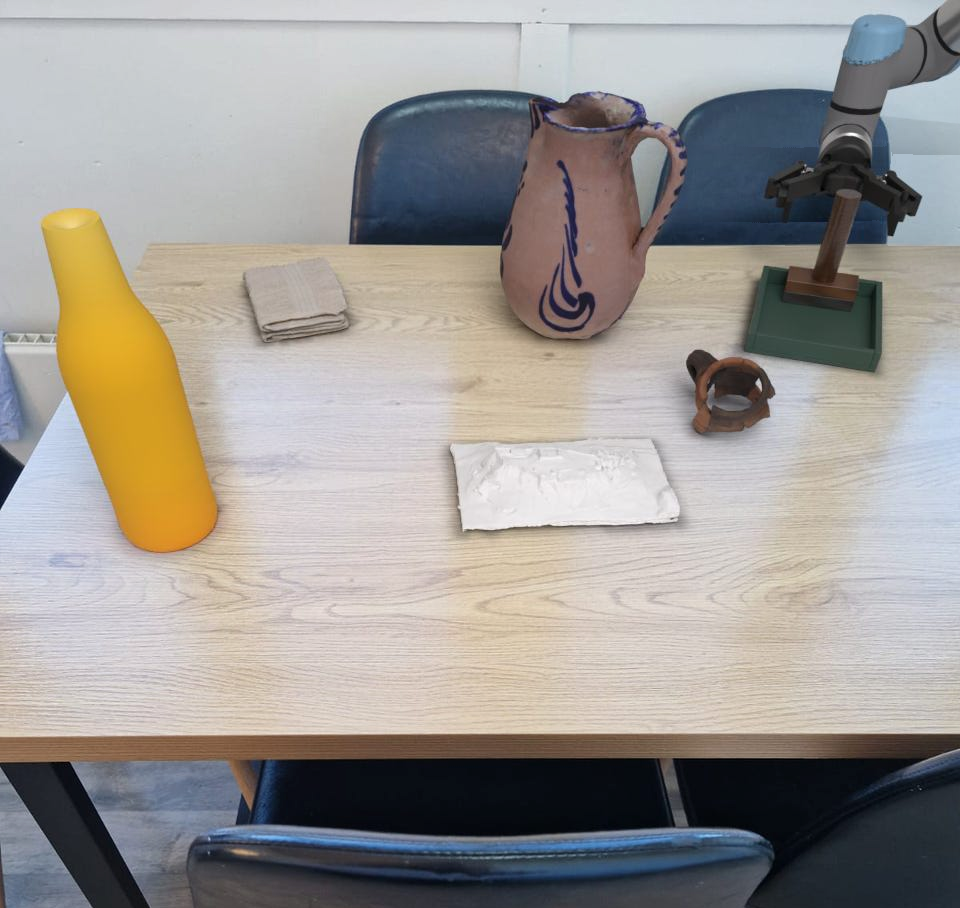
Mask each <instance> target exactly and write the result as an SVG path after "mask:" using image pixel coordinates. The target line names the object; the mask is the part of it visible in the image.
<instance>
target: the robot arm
mask: <svg viewBox="0 0 960 908" xmlns="http://www.w3.org/2000/svg"><path fill="white" fill-rule="evenodd" d="M959 68H960V0H946V1H944V2H943V3H942V4H941V5H940V6H939V7H938V8H936V9H935V10H934V11H933V12H932V13H931V14H929V15H928V16H927V17H926V18H925V19H924V20H922V21H921V22H920V23H917V24H916V25H915V24H914V25H912V26H907V22H906V20H905V19H903V18H901V17H898V16H895V15H890V14H881V13H877V14H864V15H861V16H859V17H858V18H856V19H855V21H854V22H853V24H852V26H851V28H850V31H849V35H848V37H847V41H846V44H845V45H844V47H843V50H842V57H841V61H840V64H839V69H838V72H837V75H836V80H835V84H834V88H833V92H832V97H831V100H830V103H829V105H828V109H827V113H826V117H825V121H824V122H823V124H822V126H821V129H820V130H821V131H820V134H819V137H818V143H819V149H818V156H817V162H816V165H815V166H814V167H808V164H806V161H805V160H803V159H798V160H796V161H795V163H794V165H791V166H789V167H788V168H786V169H783V170H781V171H779V172H778V173H775V174H774V175H772V176H770V177H768V178H767V183H766V188H765V191H764V196H763V198H764V199H766V200H771V199H772V200H773V199H774V198H776V202H775V207H776V208H778V209H783V211H782V215H781V216H782V217H781V222H780V223H782V224H787V223H788V221H789V217H790V213H791V209H792V205H793V200H797V199H800V198H803V197H804V198H805V197H807V196H810V195H813V196H815V197H818V196H823V195H825V196H827V197H829V198H832V199H835V195H836V192H837V191H838V190H841V189H851V190H855V191H858V192H859V193H861V195H862V196H861V199H860V202H869V203H871V204H872V205H873V206H876V207H878V208H880V209H881V210H883V211H885V212H886V213H887V215H886V236H887V237H894V235H895V232H896V230H897V227H898V224H899V223H903V222H904V221H905V219H906V216H908V217H910V218H911V217H916V215H917V213H918V210H919V208H920V205H921V203H922V199H923V195H922V194H921V193H919V192H918V191H917V190H915V189H914V188H913V187H911V186H910V185H909V184H908V183H906V182H905V181H904V180H903V179H901V178H900V177H898V175H897V172H896V171H895V170H892V169H891V170H886V173H883V175H877V174H876V173H875V171H874V170H872V169H873V140H874V135H875V132H876V129H877V126H878V122H879V120H880V116H881V113H882V110H883V107H884V103H885V100H886V97H887V95H888V92H889V91H891V90H895V89H900V88H903V87H908V86H913V85H918V84H921V83H930V82H935V81H938V80H939V79H941V78H944V77H946V76H949V75H951V74H952V73H954V72H955V71H956V70H958V69H959Z"/></svg>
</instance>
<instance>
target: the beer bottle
mask: <svg viewBox="0 0 960 908" xmlns="http://www.w3.org/2000/svg"><path fill="white" fill-rule="evenodd" d="M40 227H41V230H42V235H43V239H44V245H45V248H46V252H47V256H48V260H49V263H50V264H49V265H50V268H51V271H52V272H51V273H52V275H53V281H54V284H55V289H56V292H57V297H58V303H59V316H58V322H57V331H56V343H55V346H56V347H55V351H56V360H57V364H58V368H59V372H60V376H61V379H62V381H63V384H64V387H65V389H66V391H67V394H68V396H69V398H70V401H71V403H72V406H73V409H74V411H75V414H76V416H77V419H78V421H79V423H80V426H81V429H82V431H83V434H84V436H85V439H86V442H87V445H88V446H89V450H90V452H91V455H92V457H93V460H94V462H95V465H96V467H97V469H98V472H99V474H100V477H101V480H102V482H103V485H104V487H105V490H106V493H107V495H108V498H109V500H110V502H111V505H112V508H113V511H114V515H115V517H116V520H117V523H118V525H119V528H120V530H121V531H122V533H123V534H124V536H125V538H126V539H127V540H128V541H129V542H130V543H132V544H133V546H135V547H137V548H139V549H142V550H145V551H147V552H154V553H171V552H176V551H181V550H184V549H187V548H190V547H191V546H194V545H196V544H198V543H200V542H201V541H202V540H204V539H205V538H206V537H207V536H208V535H209V534H210V533H211V532H212V530H213V529H214V527H215V526H216V523H217V518H218V505H217V499H216V496H215V492H214V490H213V486H212V484H211V480H210V477H209V474H208V470H207V467H206V463H205V460H204V455H203V452H202V449H201V445H200V441H199V438H198V435H197V430H196V427H195V424H194V420H193V416H192V413H191V409H190V406H189V402H188V398H187V395H186V391H185V388H184V384H183V380H182V376H181V373H180V369H179V365H178V362H177V361H178V360H177V358H176V355H175V352H174V349H173V346H172V345H171V342H170V340H169V337H168V335H167V334H166V332H165V331H164V328H163V327H162V325H161V324H160V323H159V322H158V320H157V319H156V318H155V316H154V315H153V314H152V313H151V312H150V310H149V309H148V308H147V307H146V306H145V304H143V302H142V301H141V300H140V299H139V298H138V296H137V295H136V294H135V292H134V291H133V289H132V287H131V285H130V283H129V280H128V279H127V276H126V274H125V272H124V269H123V267H122V265H121V262H120V260H119V257H118V255H117V252H116V250H115V247H114V245H113V242H112V240H111V238H110V236H109V233H108V232H107V229H106V227H105V224H104V222H103V220H102V217H101V215H100V213H99V212H98V211H96V210H94V209H91V208H85V207H71V208H65V209H61V210H56V211H53V212H51V213H49V214H46V215H45V216H44V217H43V218H42V219H41V221H40Z"/></svg>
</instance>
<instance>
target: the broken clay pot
mask: <svg viewBox="0 0 960 908" xmlns="http://www.w3.org/2000/svg"><path fill="white" fill-rule="evenodd" d="M685 366H686V369H687V372H688V375H689V376H690V378H691V380H692V382H693V383H694V386H695V390H694V394H695V396H694V397H695V398H694V399H695V406H696V409H697V412H696V414H695V416H694V418H693V419H692V426H693V428H694V429H695V430H696V432H698V433H699V434H703V433H706V431H707V432H708V433H737V432H743V431H744V429H745V428H748V429H750V428H751V427H754V426H755V425H756V424H757V423H759V422H760V421H761V420H764V419H769V418H771V409H770V405H769V401H768V400H771V399H773V398H774V397H775V396H776V389H775V387H774V386H773V384H772V381H771V380H770V378H769V375H768V374H767V372H766V370H765V369H764V368H763V367H761V366H760V365H759V364H758V363H756V362H754V361H753V360H751V359H748V358H743V357H742V356H730V357H725V358H722V359H719V360H718V358H716V357H714V355H713V354H711V353H710V352H708V351H705V350H704V349H694V350H693V351H692V352H691V353H689V354H688V355H687V358H686V360H685ZM758 381H760V384H761V385H760V386H761V389H760V387H759V386H758V385H757V382H758ZM713 386H714V387H713ZM712 387H713V389H714V394H713V395H714V398H716V399H717V398H721V397H725V396H739V397H743V398H746V399H747V400H748V401H749V402H750V403H752V405H751V406H749V407H747V408H744V409H741V410H727V409H724V408H721V407H719V406H717V405H716V404H712V406H711V408H710V407H709V406H708V403H707V401H708V400H709V395H708V393H709V391H710V390H711V388H712Z"/></svg>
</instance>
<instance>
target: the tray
mask: <svg viewBox="0 0 960 908" xmlns="http://www.w3.org/2000/svg"><path fill="white" fill-rule="evenodd" d="M788 270H789V268H787V267H778V266H772V265H771V266H770V265H763V267H762V272H761V276H760V279H759V283H758V287H757V293H756V297H755V301H754V305H753V306H754V307H753V311H752V316H751V319H750V320H751V321H750V324H749V325H750V326H749V329H748V334H747V339H746V343H745V348H744V352H745V353H753V354H758V355H765V356H770V357H777V358H782V359H783V358H784V359H789V360H790V359H791V360H795V361H802V362H808V363H815V364H820V365H827V366H832V367H833V366H834V367H840V368H845V369H853V370H859V371H863V372H864V371H865V372H871V373H876V371H877V369H878V365H879V363H880V360H881V357H882V355H883V281H878V280H873V279H865V278H859V285H858V293H857V296H856V299H855V301H854V304H853V307H852V310H851V312H846V311H840V310H833V309H826V308H819V307H812V306H806V305H799V304H792V303H785V302H781V300H782V294H783V289H784V285H785V281H786V277H787V274H788Z"/></svg>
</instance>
